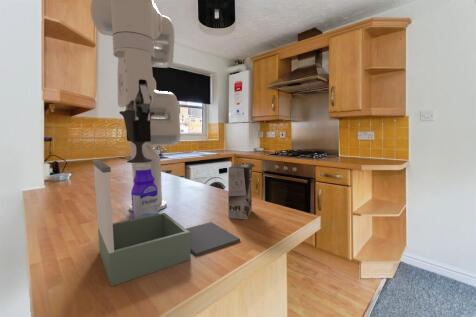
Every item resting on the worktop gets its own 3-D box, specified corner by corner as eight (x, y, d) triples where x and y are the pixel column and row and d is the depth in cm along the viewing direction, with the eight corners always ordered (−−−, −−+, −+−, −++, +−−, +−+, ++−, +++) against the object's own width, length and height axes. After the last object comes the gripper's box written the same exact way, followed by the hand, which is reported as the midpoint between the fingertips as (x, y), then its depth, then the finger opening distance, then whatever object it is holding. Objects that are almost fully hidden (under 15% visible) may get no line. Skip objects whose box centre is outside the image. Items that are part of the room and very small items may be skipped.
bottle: (141, 228, 66) (138, 167, 64) (129, 224, 69) (126, 165, 67) (162, 220, 72) (160, 164, 71) (150, 217, 75) (147, 162, 74)
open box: (98, 252, 53) (92, 159, 51) (165, 235, 62) (162, 155, 60) (109, 287, 41) (102, 167, 39) (190, 259, 50) (188, 161, 48)
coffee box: (248, 219, 73) (248, 167, 71) (227, 218, 74) (227, 167, 73) (252, 210, 82) (252, 164, 80) (234, 209, 83) (233, 163, 81)
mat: (171, 234, 63) (171, 232, 63) (211, 223, 70) (211, 221, 70) (196, 256, 51) (195, 253, 51) (240, 241, 59) (240, 238, 59)
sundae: (128, 160, 53) (124, 90, 51) (159, 159, 53) (156, 91, 52) (116, 163, 46) (111, 84, 45) (151, 163, 47) (148, 84, 45)
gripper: (106, 56, 52) (111, 140, 54) (122, 30, 38) (128, 143, 40) (142, 62, 56) (145, 139, 58) (168, 40, 43) (171, 142, 45)
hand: (138, 140), depth 49 cm, fingers closed on sundae, 4 cm apart
